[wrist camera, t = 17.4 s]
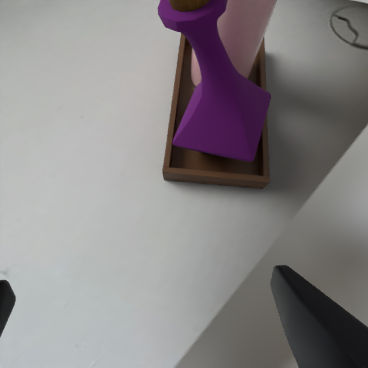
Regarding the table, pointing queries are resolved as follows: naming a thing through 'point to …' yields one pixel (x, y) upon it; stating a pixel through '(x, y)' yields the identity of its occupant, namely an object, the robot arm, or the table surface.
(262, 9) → the pink cylinder
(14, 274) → the table surface
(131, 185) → the table surface
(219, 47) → the perfume bottle
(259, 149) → the tray
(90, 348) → the table surface
